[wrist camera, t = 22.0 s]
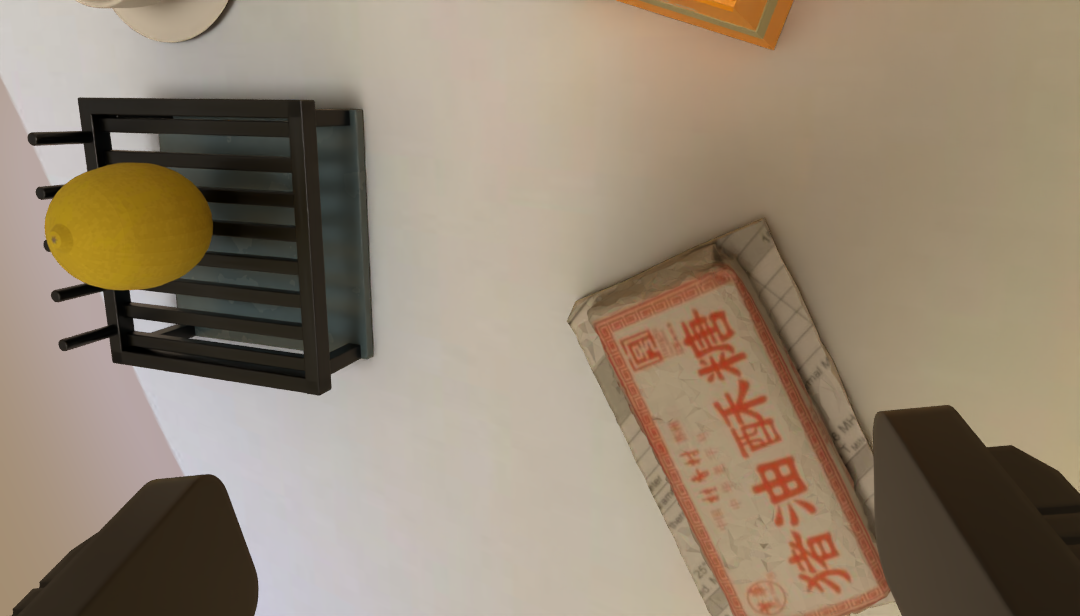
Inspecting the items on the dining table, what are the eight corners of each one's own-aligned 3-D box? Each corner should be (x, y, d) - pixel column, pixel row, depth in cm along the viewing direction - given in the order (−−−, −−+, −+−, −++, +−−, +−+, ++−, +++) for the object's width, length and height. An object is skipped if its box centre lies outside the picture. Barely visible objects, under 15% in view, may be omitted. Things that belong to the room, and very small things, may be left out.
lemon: (235, 289, 38) (95, 331, 31) (149, 242, 39) (-6, 272, 32) (260, 185, 36) (117, 204, 29) (168, 139, 37) (9, 146, 30)
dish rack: (159, 99, 43) (19, 96, 36) (366, 101, 39) (255, 98, 31) (185, 337, 47) (61, 380, 39) (377, 363, 42) (279, 418, 35)
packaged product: (534, 327, 33) (755, 228, 29) (569, 301, 38) (765, 213, 33) (714, 693, 34) (951, 647, 30) (727, 626, 39) (935, 578, 35)
